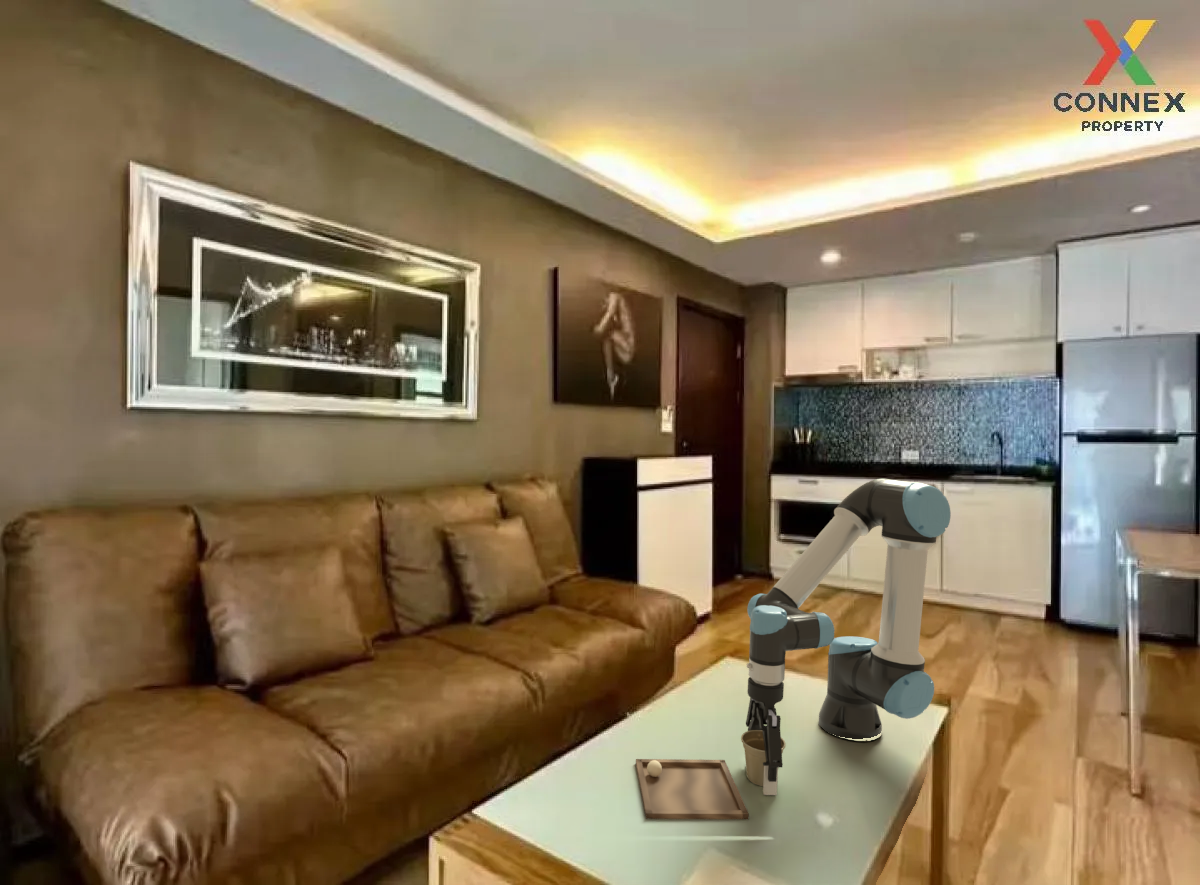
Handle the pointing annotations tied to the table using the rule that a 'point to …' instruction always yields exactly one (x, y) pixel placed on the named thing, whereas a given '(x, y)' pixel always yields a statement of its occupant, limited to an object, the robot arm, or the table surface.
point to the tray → (690, 790)
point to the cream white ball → (654, 768)
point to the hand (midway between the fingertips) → (761, 778)
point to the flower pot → (755, 755)
